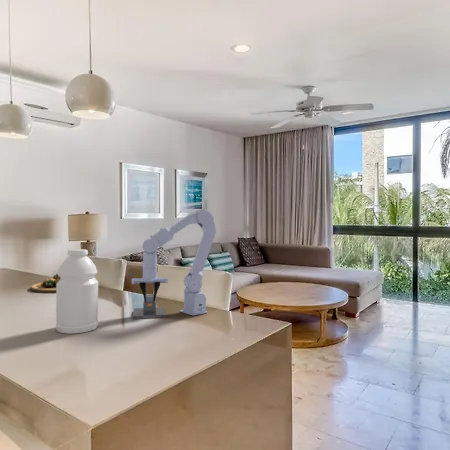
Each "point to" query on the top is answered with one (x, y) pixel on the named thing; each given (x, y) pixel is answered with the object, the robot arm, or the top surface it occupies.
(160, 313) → the stand base
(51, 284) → the wooden plate with food
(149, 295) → the column
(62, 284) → the bottle
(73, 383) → the top surface
